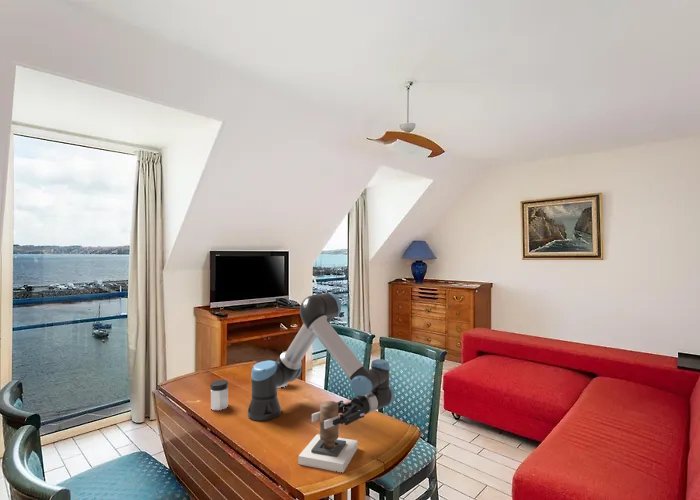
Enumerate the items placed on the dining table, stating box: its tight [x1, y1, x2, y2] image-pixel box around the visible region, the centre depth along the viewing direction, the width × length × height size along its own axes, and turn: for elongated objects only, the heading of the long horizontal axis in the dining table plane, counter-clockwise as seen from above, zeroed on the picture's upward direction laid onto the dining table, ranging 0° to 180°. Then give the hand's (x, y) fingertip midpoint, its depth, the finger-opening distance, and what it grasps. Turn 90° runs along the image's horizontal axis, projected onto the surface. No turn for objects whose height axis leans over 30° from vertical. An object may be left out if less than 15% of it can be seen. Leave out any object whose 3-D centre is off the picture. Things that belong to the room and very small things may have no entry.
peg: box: [319, 400, 339, 450], centre depth 143 cm, size 7×7×16 cm
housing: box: [297, 433, 359, 474], centre depth 143 cm, size 17×17×4 cm
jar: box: [209, 379, 229, 411], centre depth 187 cm, size 9×8×12 cm
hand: (318, 421), depth 139 cm, fingers closed on peg, 7 cm apart
